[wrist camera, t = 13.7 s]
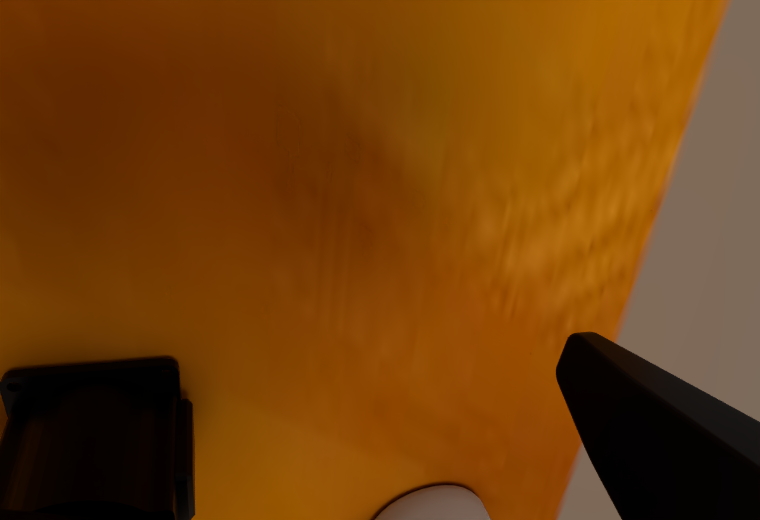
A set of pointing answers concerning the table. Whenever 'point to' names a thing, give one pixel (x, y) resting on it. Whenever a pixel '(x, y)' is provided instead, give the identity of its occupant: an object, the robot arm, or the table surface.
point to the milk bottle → (437, 505)
